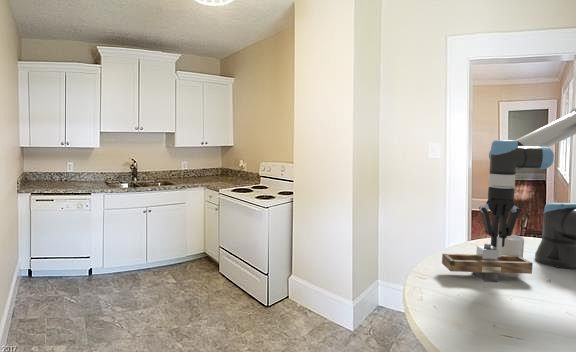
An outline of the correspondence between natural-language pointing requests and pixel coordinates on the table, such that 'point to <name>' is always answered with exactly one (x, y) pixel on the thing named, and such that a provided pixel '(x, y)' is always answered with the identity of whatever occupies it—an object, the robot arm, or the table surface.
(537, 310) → the table surface
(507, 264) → the beam
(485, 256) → the white block with knob
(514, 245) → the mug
